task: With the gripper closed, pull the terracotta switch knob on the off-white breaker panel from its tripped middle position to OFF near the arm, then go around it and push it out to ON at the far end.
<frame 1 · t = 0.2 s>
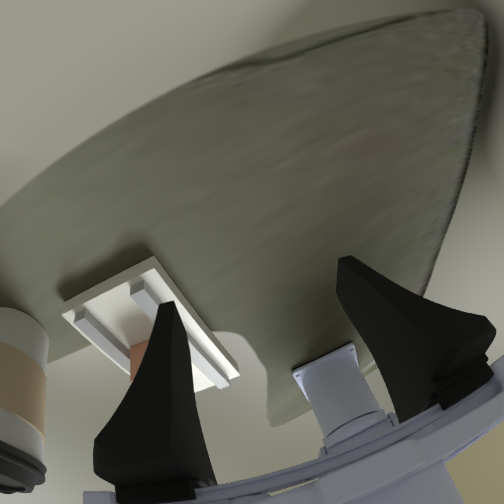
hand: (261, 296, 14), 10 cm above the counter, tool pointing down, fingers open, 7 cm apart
coffee cup: (17, 331, 24), on the counter
breaker panel: (158, 339, 28), on the counter
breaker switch: (161, 368, 25), point 3 cm above the counter, slide at 0.0 cm
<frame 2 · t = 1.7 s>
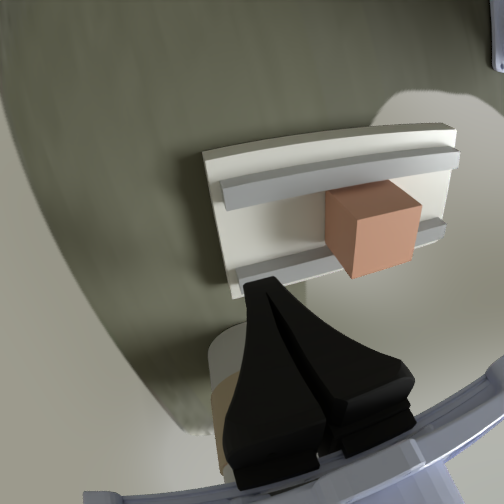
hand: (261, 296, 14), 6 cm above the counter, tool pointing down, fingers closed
coffee cup: (248, 347, 26), on the counter
breaker panel: (343, 198, 20), on the counter
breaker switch: (370, 225, 17), point 3 cm above the counter, slide at 0.0 cm
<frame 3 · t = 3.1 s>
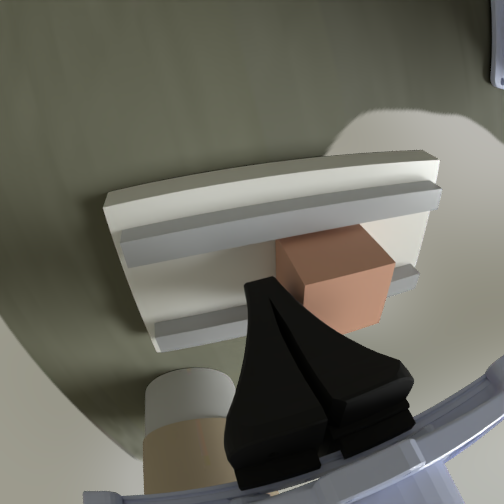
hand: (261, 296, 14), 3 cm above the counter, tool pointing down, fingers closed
coffee cup: (189, 391, 23), on the counter
breaker panel: (288, 243, 17), on the counter
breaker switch: (330, 280, 14), point 3 cm above the counter, slide at -0.8 cm, touching gripper
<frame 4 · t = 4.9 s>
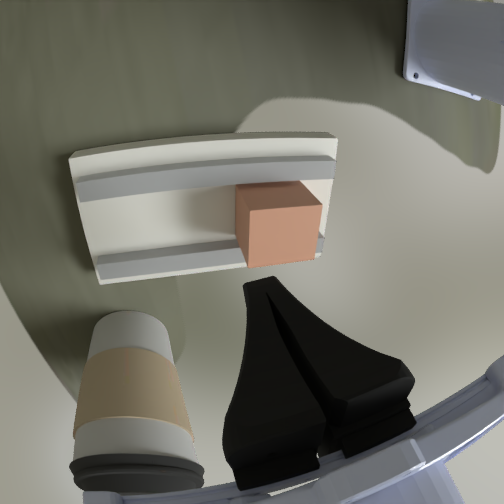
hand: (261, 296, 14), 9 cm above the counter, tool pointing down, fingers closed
coffee cup: (130, 336, 26), on the counter
breaker panel: (206, 201, 21), on the counter
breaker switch: (275, 221, 19), point 3 cm above the counter, slide at -3.6 cm
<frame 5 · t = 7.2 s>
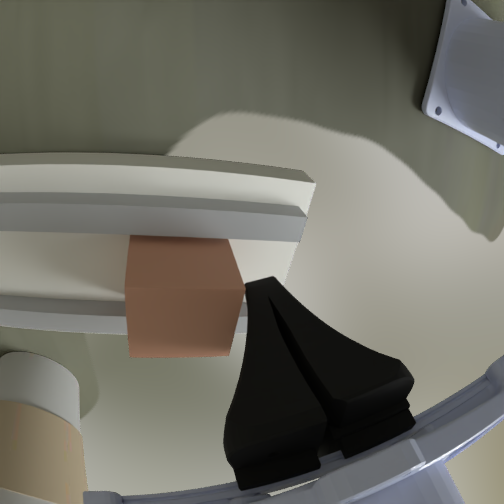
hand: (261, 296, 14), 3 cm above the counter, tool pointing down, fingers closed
coffee cup: (37, 377, 19), on the counter
breaker panel: (120, 245, 14), on the counter
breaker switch: (178, 294, 13), point 3 cm above the counter, slide at -2.6 cm, touching gripper
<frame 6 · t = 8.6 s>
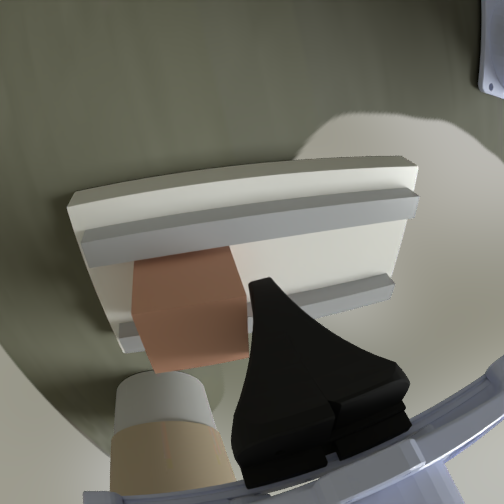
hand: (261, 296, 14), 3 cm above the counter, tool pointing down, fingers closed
coffee cup: (160, 392, 22), on the counter
breaker panel: (256, 248, 16), on the counter
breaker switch: (190, 307, 13), point 3 cm above the counter, slide at 3.7 cm, touching gripper
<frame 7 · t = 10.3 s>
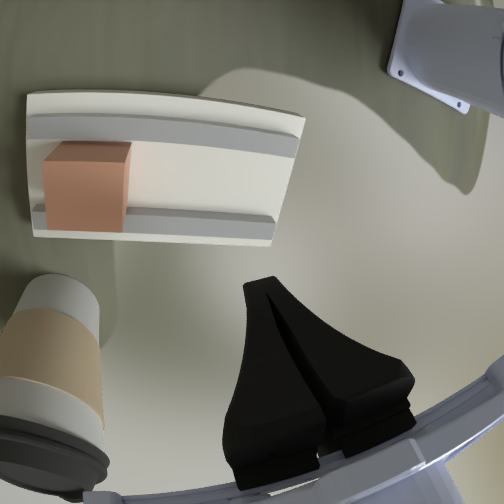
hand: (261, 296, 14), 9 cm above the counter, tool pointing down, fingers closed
coffee cup: (60, 305, 23), on the counter
breaker panel: (156, 165, 19), on the counter
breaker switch: (89, 183, 15), point 3 cm above the counter, slide at 3.6 cm
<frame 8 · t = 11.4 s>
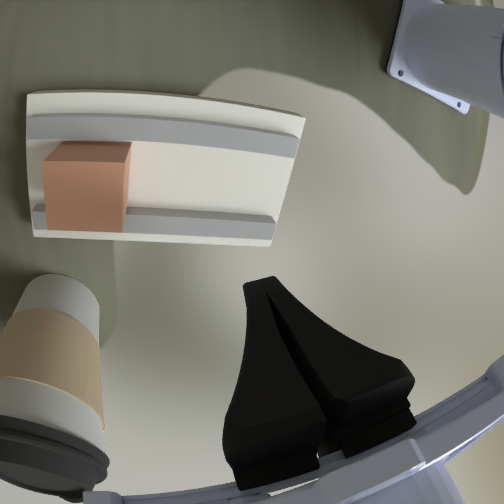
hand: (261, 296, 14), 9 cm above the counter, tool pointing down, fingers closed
coffee cup: (60, 305, 23), on the counter
breaker panel: (156, 165, 19), on the counter
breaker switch: (89, 183, 15), point 3 cm above the counter, slide at 3.6 cm
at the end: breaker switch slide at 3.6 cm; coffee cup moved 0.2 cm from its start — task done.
